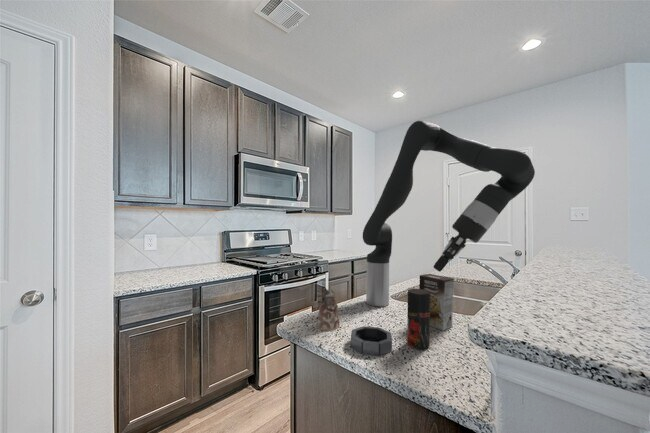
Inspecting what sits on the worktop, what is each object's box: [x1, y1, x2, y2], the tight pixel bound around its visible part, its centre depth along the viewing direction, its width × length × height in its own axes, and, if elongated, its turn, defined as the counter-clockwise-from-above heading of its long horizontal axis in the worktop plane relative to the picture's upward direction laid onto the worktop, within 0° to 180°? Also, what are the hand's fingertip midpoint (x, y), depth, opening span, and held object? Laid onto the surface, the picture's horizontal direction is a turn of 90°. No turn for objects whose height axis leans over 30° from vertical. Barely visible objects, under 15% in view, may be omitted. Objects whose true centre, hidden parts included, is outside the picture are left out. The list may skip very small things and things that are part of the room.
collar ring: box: [350, 326, 393, 357], centre depth 78 cm, size 11×11×3 cm
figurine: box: [316, 287, 340, 332], centre depth 91 cm, size 7×7×12 cm
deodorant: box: [406, 288, 431, 351], centre depth 79 cm, size 6×6×15 cm
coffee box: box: [418, 273, 455, 331], centre depth 94 cm, size 9×6×16 cm
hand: (436, 268), depth 78 cm, fingers open, 8 cm apart
